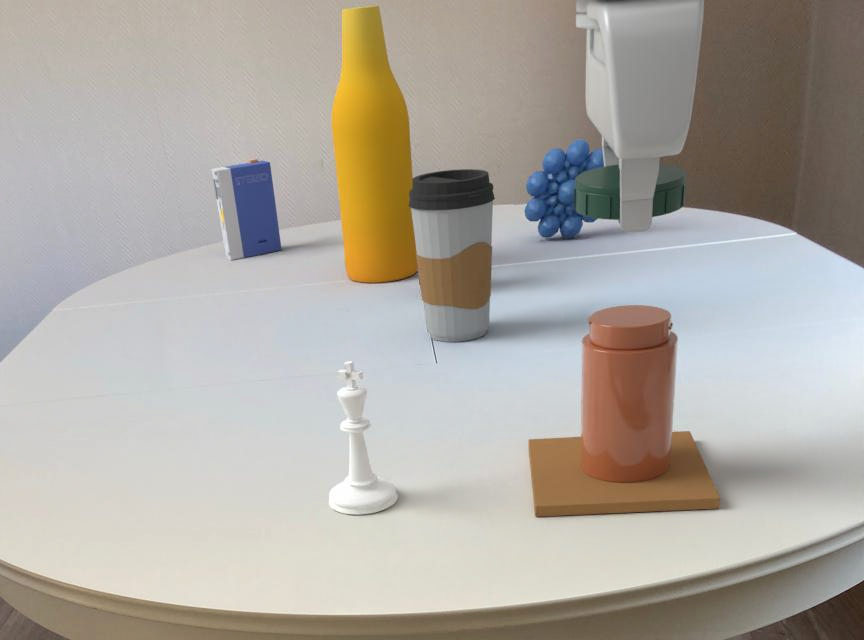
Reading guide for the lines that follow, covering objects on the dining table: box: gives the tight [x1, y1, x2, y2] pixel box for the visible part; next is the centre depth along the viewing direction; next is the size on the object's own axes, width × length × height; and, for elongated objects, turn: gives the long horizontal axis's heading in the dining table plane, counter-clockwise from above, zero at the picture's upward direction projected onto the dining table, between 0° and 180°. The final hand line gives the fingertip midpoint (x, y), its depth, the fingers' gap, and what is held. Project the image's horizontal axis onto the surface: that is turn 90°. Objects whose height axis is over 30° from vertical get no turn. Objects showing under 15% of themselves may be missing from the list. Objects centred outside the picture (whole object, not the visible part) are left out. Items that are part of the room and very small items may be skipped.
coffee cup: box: [409, 168, 496, 343], centre depth 104 cm, size 8×8×15 cm
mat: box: [527, 430, 721, 518], centre depth 75 cm, size 12×12×1 cm
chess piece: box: [328, 360, 399, 516], centre depth 73 cm, size 5×5×10 cm
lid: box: [574, 163, 688, 221], centre depth 65 cm, size 7×7×2 cm
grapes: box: [524, 138, 604, 239], centre depth 139 cm, size 12×7×12 cm, turn 88°
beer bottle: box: [330, 5, 418, 284], centre depth 126 cm, size 9×9×29 cm
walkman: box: [211, 158, 283, 261], centre depth 147 cm, size 8×3×12 cm, turn 117°
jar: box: [580, 304, 679, 483], centre depth 72 cm, size 6×6×10 cm
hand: (626, 216), depth 66 cm, fingers closed on lid, 6 cm apart
